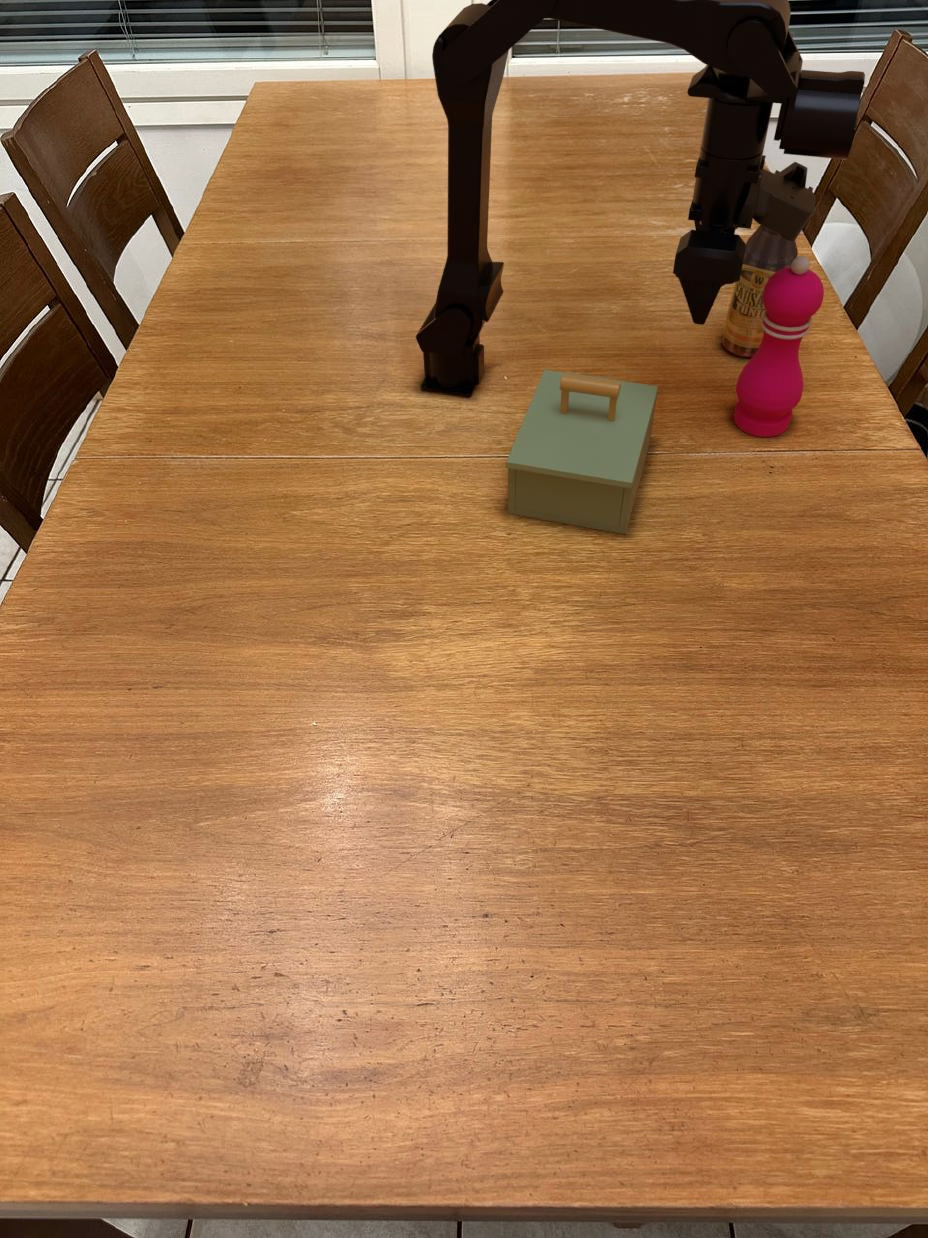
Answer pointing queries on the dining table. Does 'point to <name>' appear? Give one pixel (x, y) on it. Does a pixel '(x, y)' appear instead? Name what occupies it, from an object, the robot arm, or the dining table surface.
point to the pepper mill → (778, 351)
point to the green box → (575, 497)
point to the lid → (584, 429)
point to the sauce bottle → (754, 290)
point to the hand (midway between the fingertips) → (704, 300)
